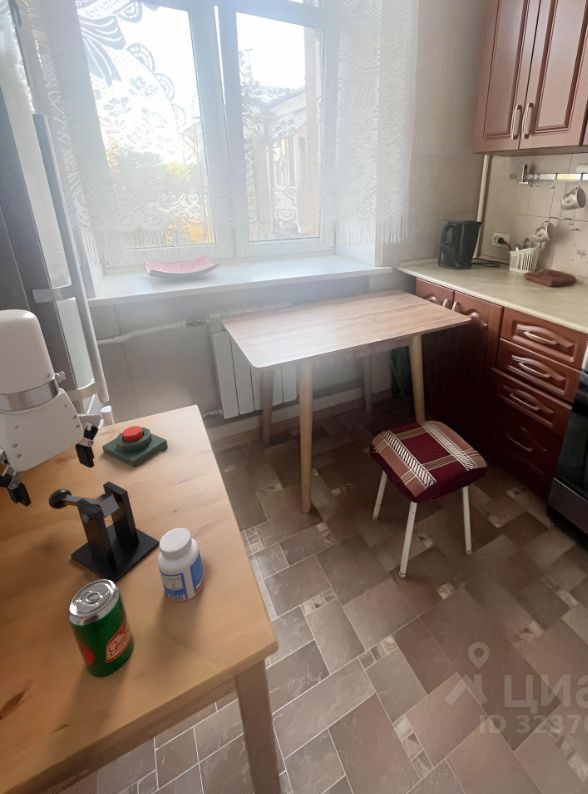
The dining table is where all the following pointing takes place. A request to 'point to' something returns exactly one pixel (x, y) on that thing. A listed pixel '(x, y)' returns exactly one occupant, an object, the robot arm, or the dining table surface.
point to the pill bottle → (180, 565)
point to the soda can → (101, 627)
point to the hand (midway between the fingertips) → (57, 482)
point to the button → (132, 434)
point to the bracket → (112, 538)
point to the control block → (135, 448)
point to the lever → (65, 498)
